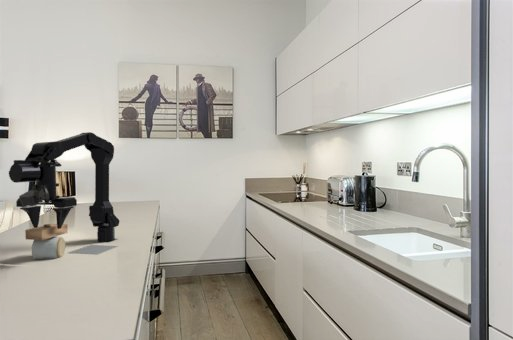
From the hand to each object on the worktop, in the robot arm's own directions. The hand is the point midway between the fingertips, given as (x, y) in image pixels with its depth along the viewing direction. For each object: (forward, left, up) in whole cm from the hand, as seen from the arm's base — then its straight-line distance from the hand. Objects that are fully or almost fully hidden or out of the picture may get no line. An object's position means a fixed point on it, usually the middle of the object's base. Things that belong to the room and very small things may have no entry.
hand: (47, 228), depth 116 cm
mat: (-12, +8, -10) cm, 18 cm away
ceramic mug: (-2, -1, -10) cm, 11 cm away
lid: (0, 0, -3) cm, 3 cm away
